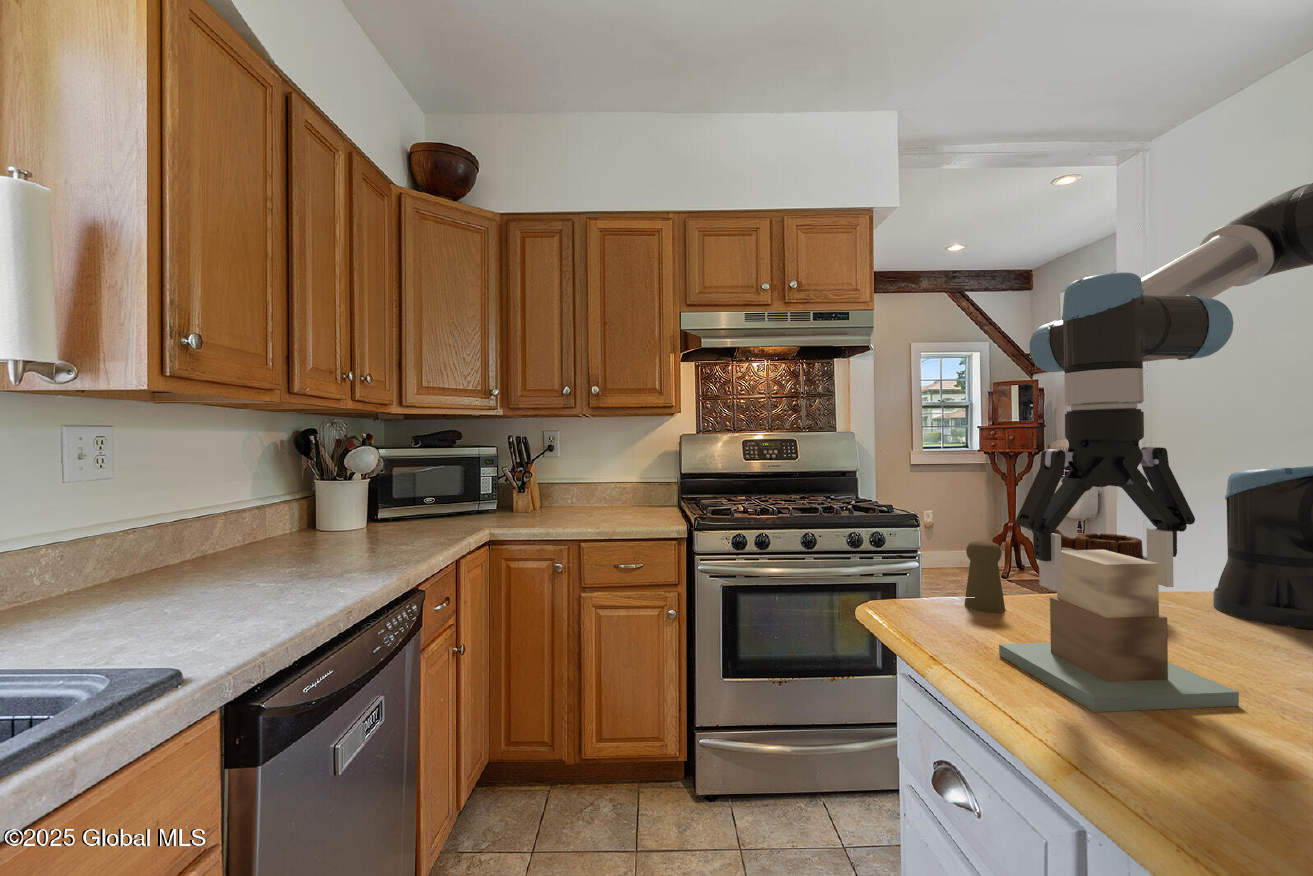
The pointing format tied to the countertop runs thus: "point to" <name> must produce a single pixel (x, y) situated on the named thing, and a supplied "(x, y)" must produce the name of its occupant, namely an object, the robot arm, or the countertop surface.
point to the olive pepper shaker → (984, 577)
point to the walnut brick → (1110, 643)
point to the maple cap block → (1110, 583)
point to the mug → (1104, 543)
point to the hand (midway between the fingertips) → (1105, 586)
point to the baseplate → (1118, 684)
